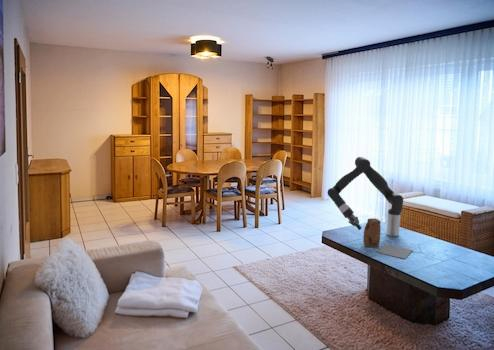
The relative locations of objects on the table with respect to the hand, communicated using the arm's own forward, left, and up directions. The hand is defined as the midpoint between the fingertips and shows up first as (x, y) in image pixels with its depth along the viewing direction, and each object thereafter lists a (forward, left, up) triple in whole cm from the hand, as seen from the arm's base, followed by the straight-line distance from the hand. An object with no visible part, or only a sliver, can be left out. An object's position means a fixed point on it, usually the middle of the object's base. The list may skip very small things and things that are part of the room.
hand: (360, 229), depth 299 cm
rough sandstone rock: (0, +9, -11) cm, 14 cm away
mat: (+1, +26, -11) cm, 28 cm away
